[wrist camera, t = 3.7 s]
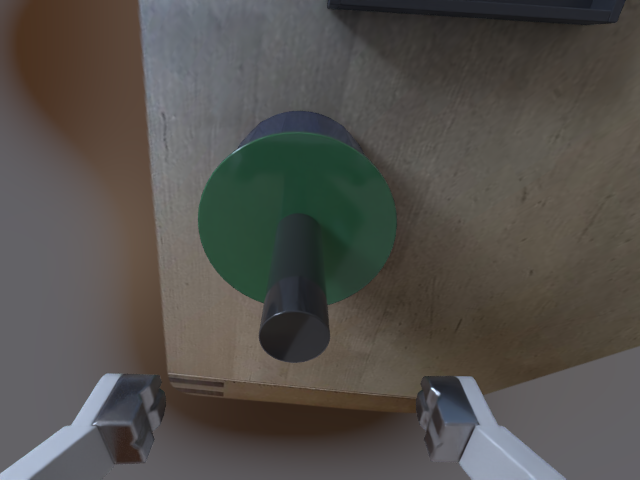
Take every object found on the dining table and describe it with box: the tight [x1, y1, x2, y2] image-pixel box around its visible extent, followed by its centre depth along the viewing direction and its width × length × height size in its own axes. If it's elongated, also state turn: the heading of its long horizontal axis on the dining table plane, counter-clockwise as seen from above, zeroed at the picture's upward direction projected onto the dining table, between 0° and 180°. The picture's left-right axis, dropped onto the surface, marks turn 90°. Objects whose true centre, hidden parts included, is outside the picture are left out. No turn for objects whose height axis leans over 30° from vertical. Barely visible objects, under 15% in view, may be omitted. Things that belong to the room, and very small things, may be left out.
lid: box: [198, 131, 397, 363], centre depth 16 cm, size 11×11×9 cm
